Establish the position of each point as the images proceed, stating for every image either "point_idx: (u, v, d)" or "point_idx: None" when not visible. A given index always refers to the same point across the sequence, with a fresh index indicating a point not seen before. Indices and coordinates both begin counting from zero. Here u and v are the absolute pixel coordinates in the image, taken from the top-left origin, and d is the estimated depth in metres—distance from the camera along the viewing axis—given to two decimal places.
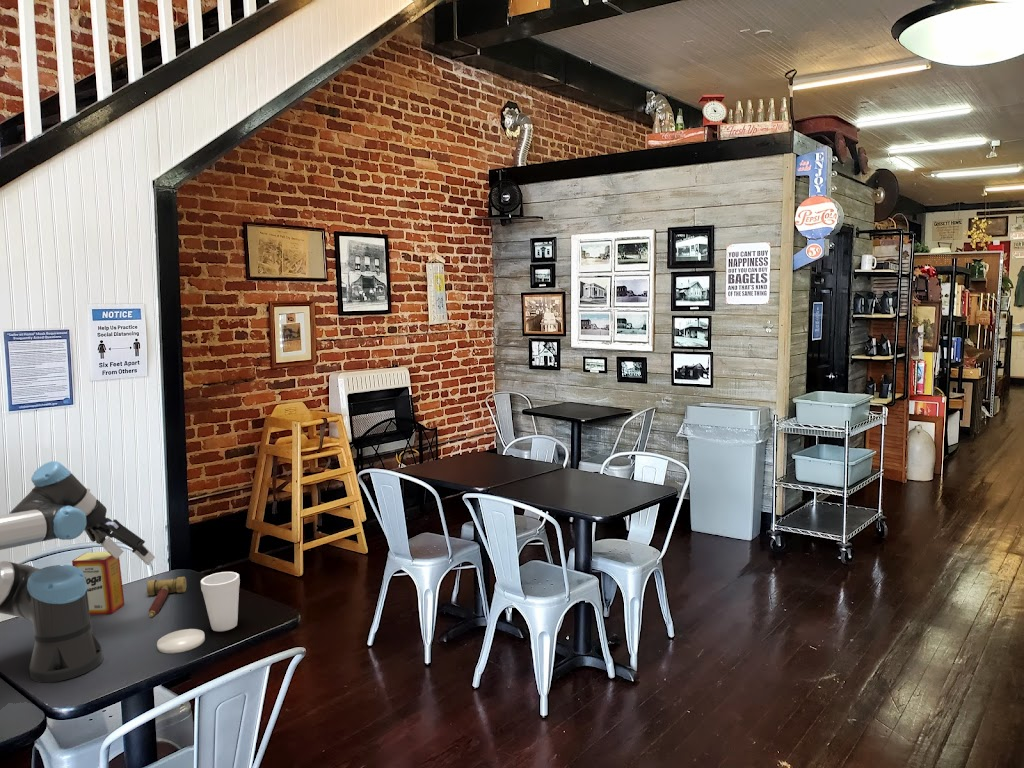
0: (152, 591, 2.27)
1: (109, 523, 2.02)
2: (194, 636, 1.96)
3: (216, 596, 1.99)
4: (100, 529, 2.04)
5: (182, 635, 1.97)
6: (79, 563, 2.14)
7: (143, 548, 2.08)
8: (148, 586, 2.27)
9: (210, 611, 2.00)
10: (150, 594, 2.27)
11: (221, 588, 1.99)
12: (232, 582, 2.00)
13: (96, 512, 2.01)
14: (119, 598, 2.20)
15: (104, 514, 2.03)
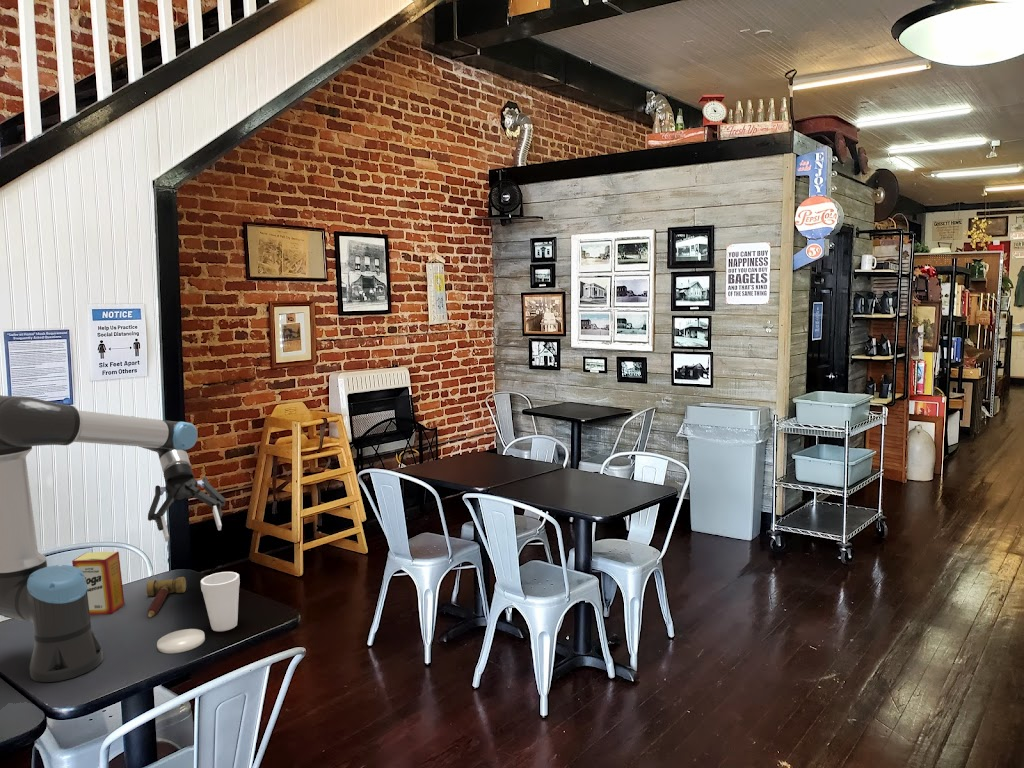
0: (152, 591, 2.27)
1: None
2: (194, 636, 1.96)
3: (216, 596, 1.99)
4: None
5: (182, 635, 1.97)
6: (79, 563, 2.14)
7: None
8: (148, 586, 2.27)
9: (210, 611, 2.00)
10: (150, 594, 2.27)
11: (221, 588, 1.99)
12: (232, 582, 2.00)
13: None
14: (119, 598, 2.20)
15: None
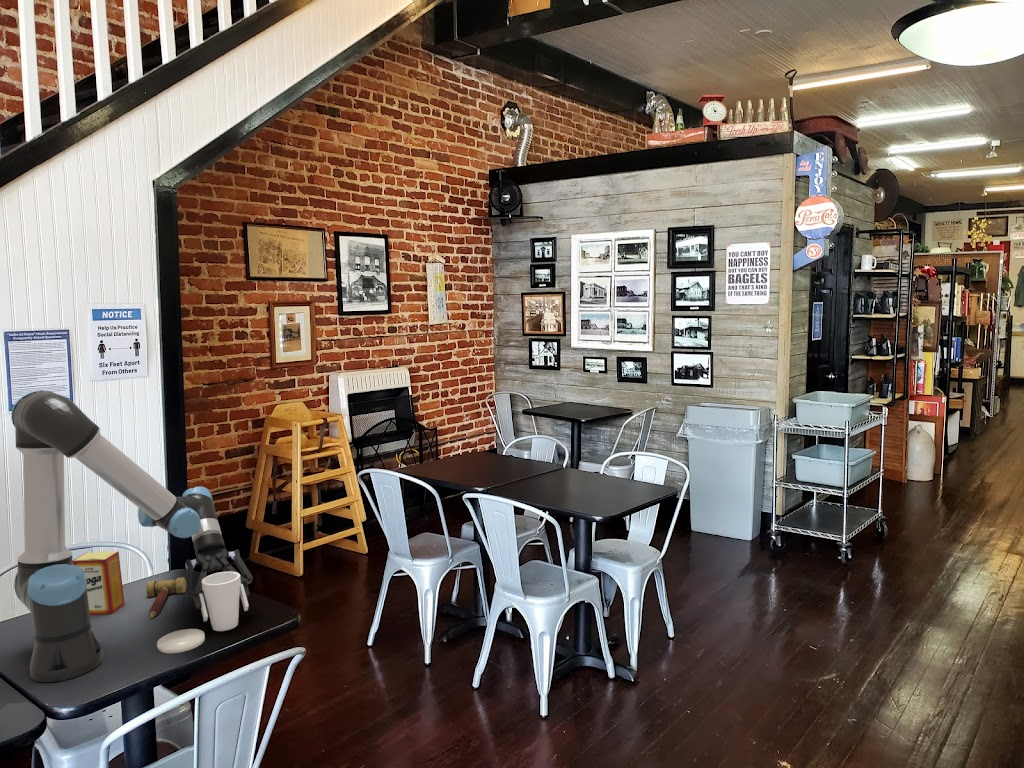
0: (152, 592, 2.26)
1: None
2: (194, 636, 1.96)
3: (217, 596, 1.99)
4: None
5: (182, 635, 1.97)
6: (79, 563, 2.14)
7: None
8: (148, 587, 2.26)
9: (211, 611, 2.00)
10: (150, 595, 2.26)
11: (222, 588, 1.99)
12: (233, 582, 2.00)
13: None
14: (119, 598, 2.20)
15: None
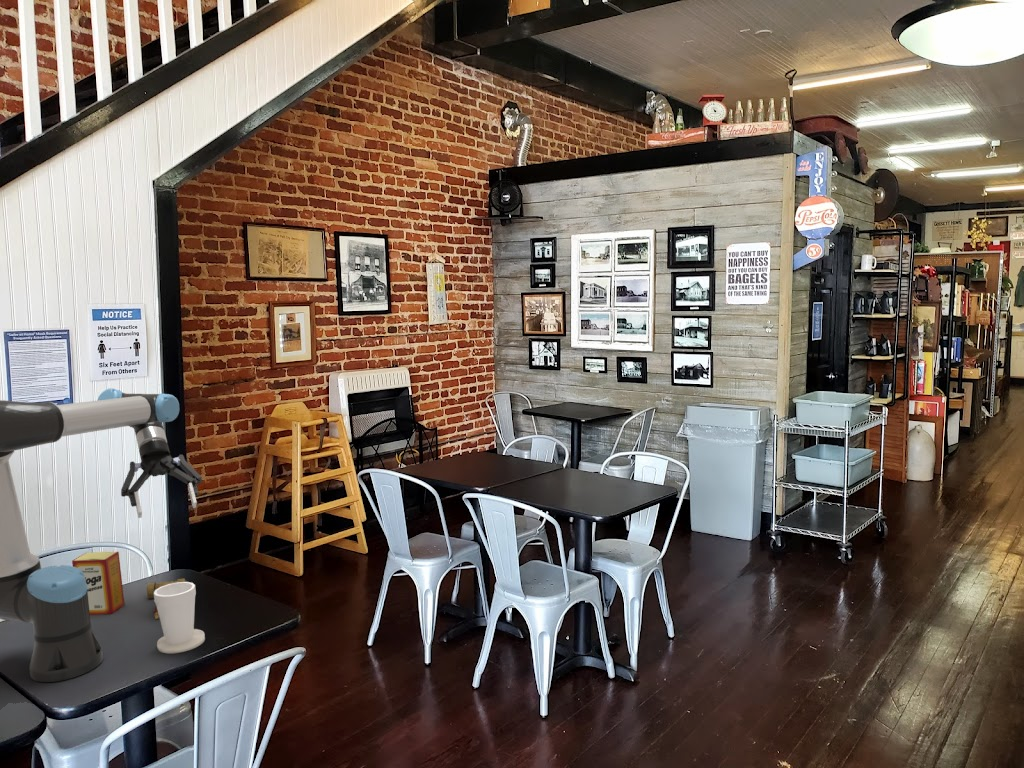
0: (152, 594, 2.25)
1: None
2: (194, 636, 1.96)
3: (169, 608, 1.89)
4: None
5: None
6: (79, 563, 2.14)
7: None
8: (148, 589, 2.25)
9: (163, 623, 1.91)
10: (150, 597, 2.25)
11: (174, 600, 1.89)
12: (187, 593, 1.91)
13: None
14: (119, 598, 2.20)
15: None
